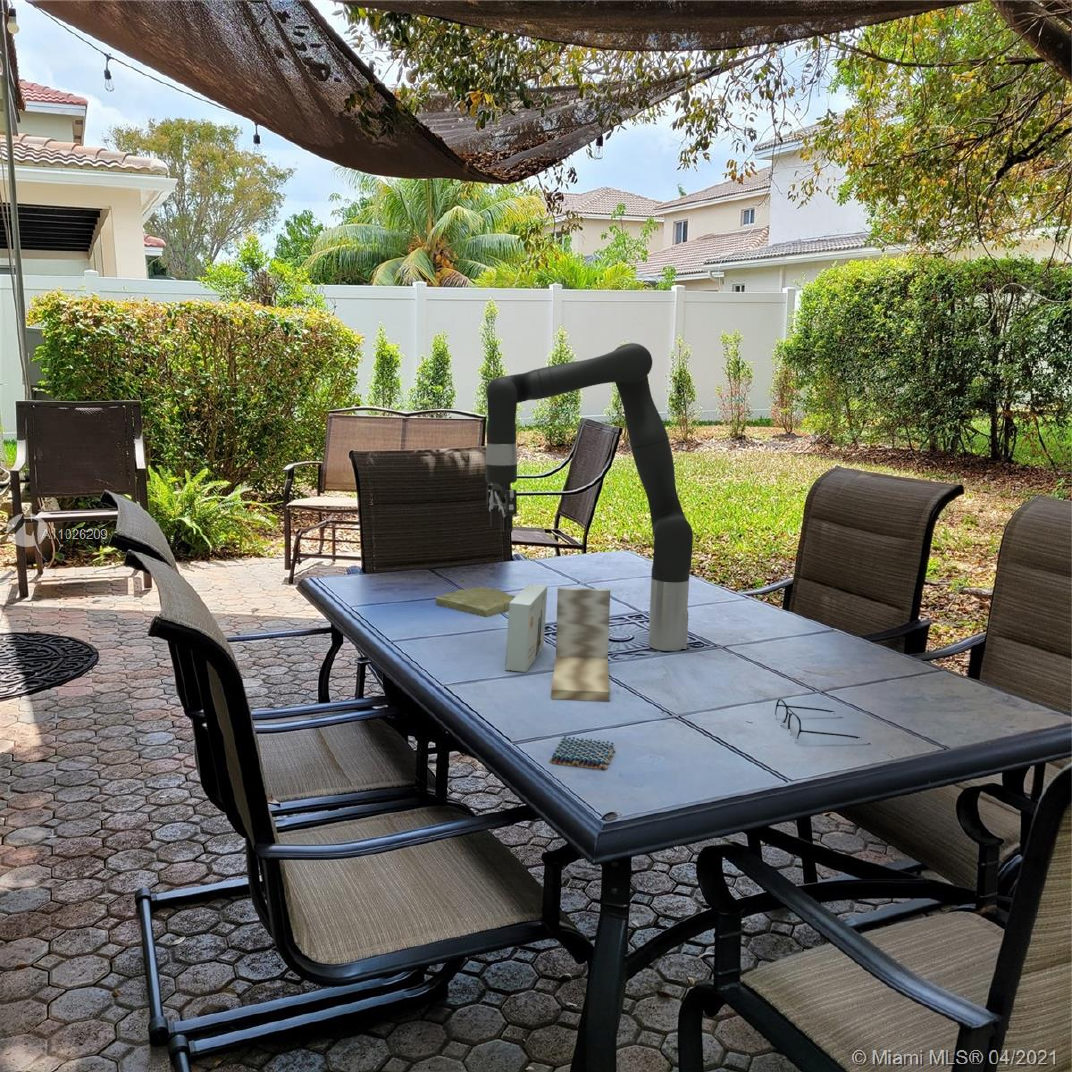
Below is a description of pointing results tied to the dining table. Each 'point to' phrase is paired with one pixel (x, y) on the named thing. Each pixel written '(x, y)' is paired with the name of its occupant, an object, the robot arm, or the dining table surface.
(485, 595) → the decorative tile
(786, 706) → the glasses
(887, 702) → the dining table surface
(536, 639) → the skincare box
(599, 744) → the woven mat
